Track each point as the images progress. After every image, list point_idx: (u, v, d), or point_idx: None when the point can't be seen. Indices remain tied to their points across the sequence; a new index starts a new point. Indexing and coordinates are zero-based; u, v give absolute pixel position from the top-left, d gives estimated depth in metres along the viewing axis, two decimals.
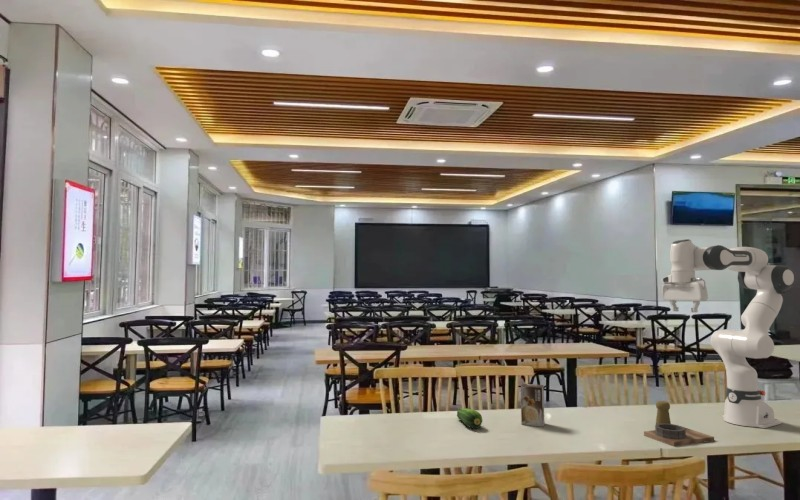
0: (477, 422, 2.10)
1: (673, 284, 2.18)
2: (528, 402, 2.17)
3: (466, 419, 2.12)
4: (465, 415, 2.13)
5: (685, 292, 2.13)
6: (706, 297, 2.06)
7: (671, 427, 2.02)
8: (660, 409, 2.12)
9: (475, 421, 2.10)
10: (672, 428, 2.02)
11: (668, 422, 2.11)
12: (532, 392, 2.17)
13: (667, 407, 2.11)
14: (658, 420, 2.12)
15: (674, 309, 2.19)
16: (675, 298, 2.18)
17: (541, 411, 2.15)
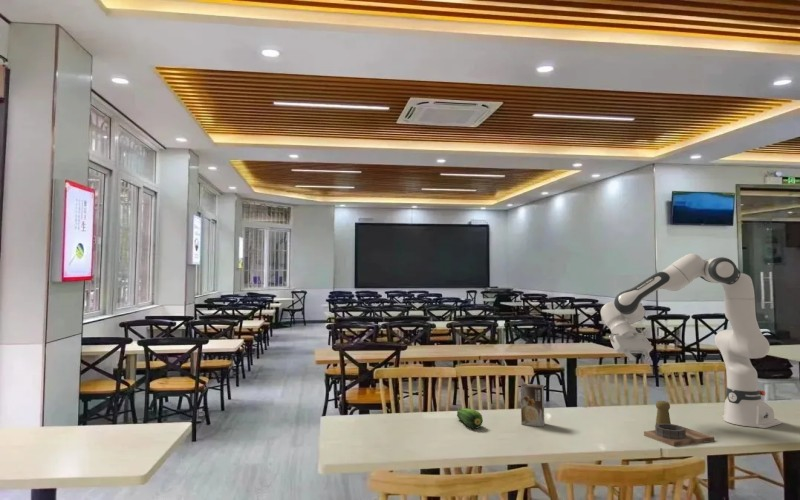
0: (477, 422, 2.10)
1: None
2: (528, 402, 2.17)
3: (466, 419, 2.12)
4: (465, 415, 2.14)
5: None
6: (618, 347, 2.24)
7: (671, 427, 2.02)
8: (660, 409, 2.12)
9: (476, 421, 2.10)
10: (672, 428, 2.02)
11: (668, 422, 2.11)
12: (532, 392, 2.17)
13: (667, 407, 2.11)
14: (658, 420, 2.12)
15: None
16: None
17: (541, 411, 2.15)
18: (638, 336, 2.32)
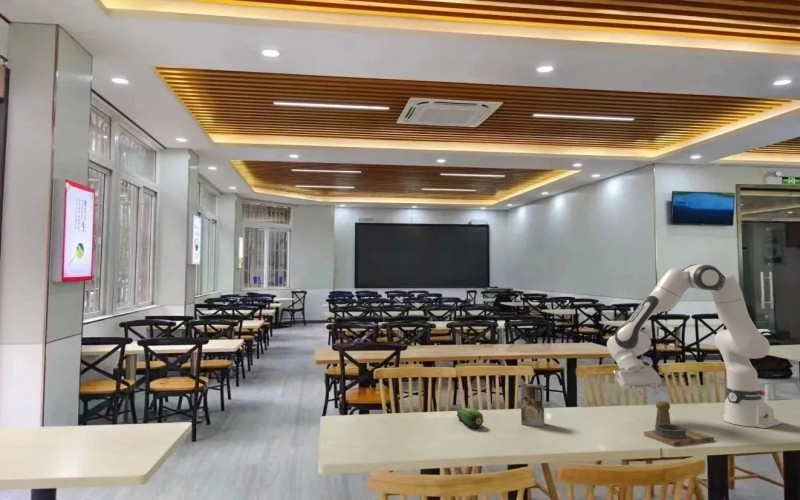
0: (478, 422, 2.11)
1: None
2: (528, 402, 2.17)
3: (467, 419, 2.12)
4: (466, 415, 2.14)
5: None
6: (623, 383, 2.21)
7: (671, 427, 2.02)
8: (660, 409, 2.12)
9: (477, 421, 2.10)
10: (672, 428, 2.02)
11: (668, 422, 2.11)
12: (532, 392, 2.17)
13: (667, 407, 2.11)
14: (658, 420, 2.12)
15: None
16: None
17: (541, 411, 2.15)
18: (645, 369, 2.28)
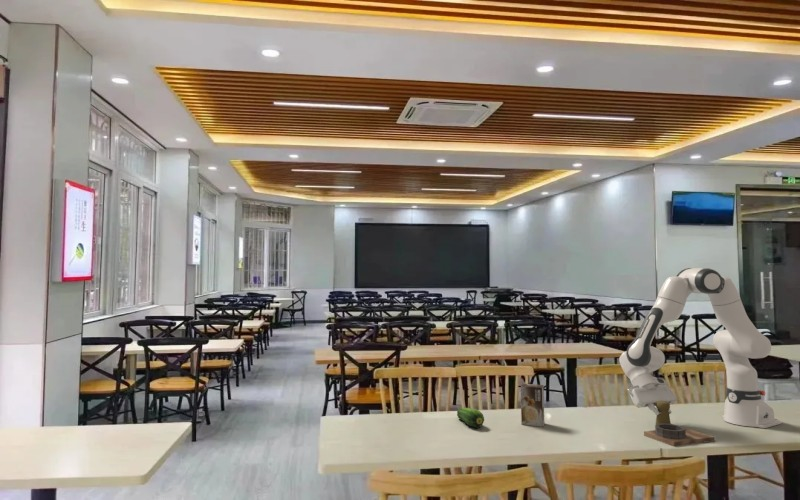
0: (479, 422, 2.11)
1: None
2: (528, 402, 2.17)
3: (468, 418, 2.12)
4: (466, 414, 2.14)
5: None
6: (637, 401, 2.13)
7: (671, 427, 2.02)
8: (660, 409, 2.12)
9: (478, 420, 2.11)
10: (672, 428, 2.02)
11: (668, 422, 2.11)
12: (532, 392, 2.17)
13: (667, 407, 2.11)
14: (658, 420, 2.12)
15: None
16: None
17: (541, 411, 2.15)
18: (660, 387, 2.20)
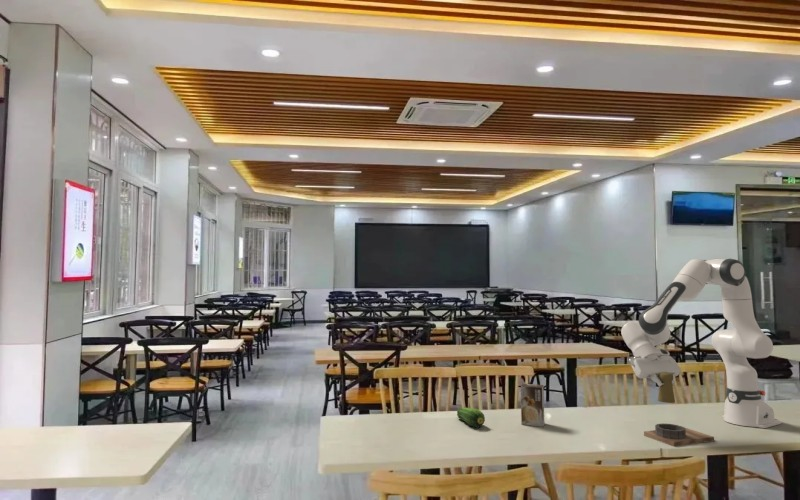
0: (480, 421, 2.11)
1: None
2: (528, 402, 2.17)
3: (469, 418, 2.13)
4: (467, 414, 2.15)
5: None
6: (639, 372, 2.03)
7: (671, 427, 2.02)
8: (663, 380, 2.02)
9: (479, 420, 2.11)
10: (672, 428, 2.02)
11: (671, 394, 2.01)
12: (532, 392, 2.17)
13: (670, 378, 2.01)
14: (661, 392, 2.02)
15: None
16: None
17: (541, 411, 2.15)
18: (663, 358, 2.10)
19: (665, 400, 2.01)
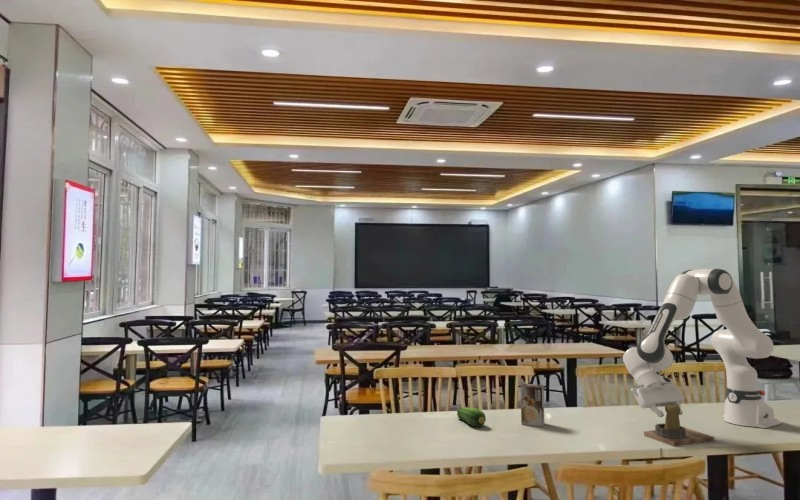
0: (481, 421, 2.12)
1: None
2: (528, 402, 2.17)
3: (470, 418, 2.13)
4: (468, 414, 2.15)
5: None
6: (642, 402, 1.99)
7: None
8: (670, 413, 1.98)
9: (480, 420, 2.12)
10: None
11: (678, 427, 1.96)
12: (532, 392, 2.17)
13: (677, 411, 1.97)
14: (667, 424, 1.98)
15: None
16: None
17: (541, 411, 2.15)
18: (666, 386, 2.06)
19: None
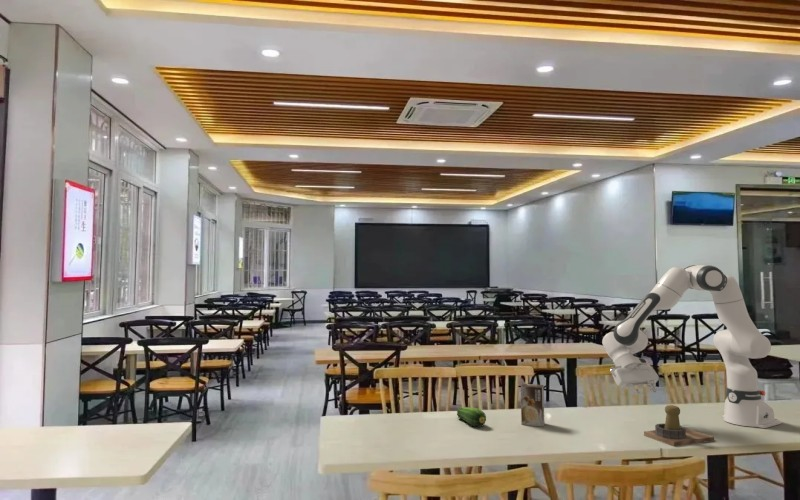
0: (482, 421, 2.12)
1: None
2: (528, 402, 2.17)
3: (471, 418, 2.13)
4: (469, 414, 2.15)
5: None
6: (620, 381, 2.16)
7: None
8: (670, 414, 1.97)
9: (480, 419, 2.12)
10: None
11: (678, 428, 1.96)
12: (532, 392, 2.17)
13: (677, 412, 1.96)
14: (667, 426, 1.97)
15: None
16: None
17: (541, 411, 2.15)
18: (642, 366, 2.23)
19: None
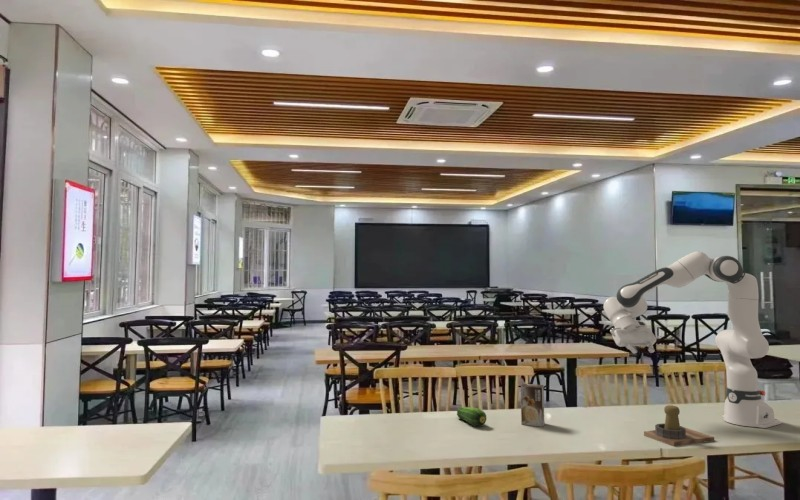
0: (482, 420, 2.13)
1: None
2: (528, 402, 2.17)
3: (471, 418, 2.14)
4: (469, 414, 2.16)
5: None
6: (619, 340, 2.27)
7: None
8: (669, 414, 1.97)
9: (481, 419, 2.13)
10: None
11: (678, 428, 1.96)
12: (532, 392, 2.17)
13: (677, 412, 1.96)
14: (667, 426, 1.97)
15: None
16: None
17: (541, 411, 2.15)
18: (641, 328, 2.34)
19: None
